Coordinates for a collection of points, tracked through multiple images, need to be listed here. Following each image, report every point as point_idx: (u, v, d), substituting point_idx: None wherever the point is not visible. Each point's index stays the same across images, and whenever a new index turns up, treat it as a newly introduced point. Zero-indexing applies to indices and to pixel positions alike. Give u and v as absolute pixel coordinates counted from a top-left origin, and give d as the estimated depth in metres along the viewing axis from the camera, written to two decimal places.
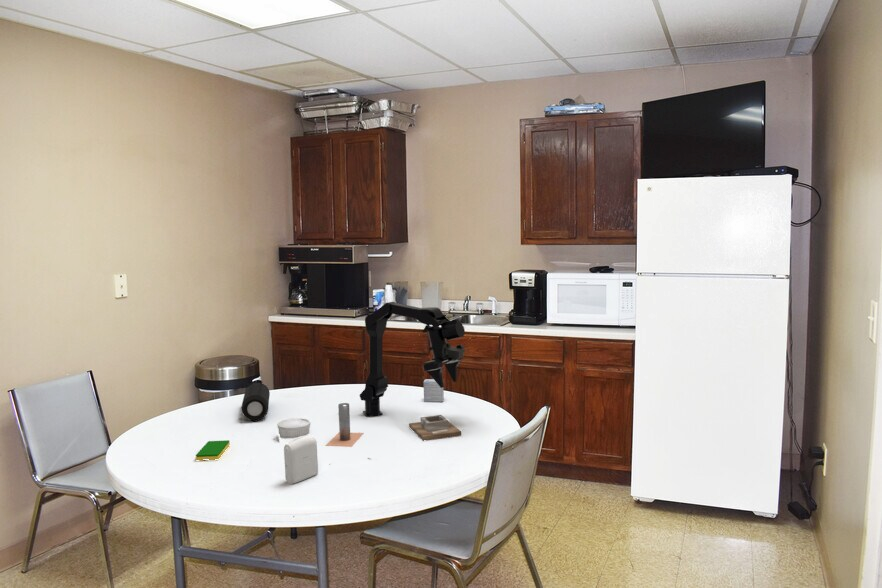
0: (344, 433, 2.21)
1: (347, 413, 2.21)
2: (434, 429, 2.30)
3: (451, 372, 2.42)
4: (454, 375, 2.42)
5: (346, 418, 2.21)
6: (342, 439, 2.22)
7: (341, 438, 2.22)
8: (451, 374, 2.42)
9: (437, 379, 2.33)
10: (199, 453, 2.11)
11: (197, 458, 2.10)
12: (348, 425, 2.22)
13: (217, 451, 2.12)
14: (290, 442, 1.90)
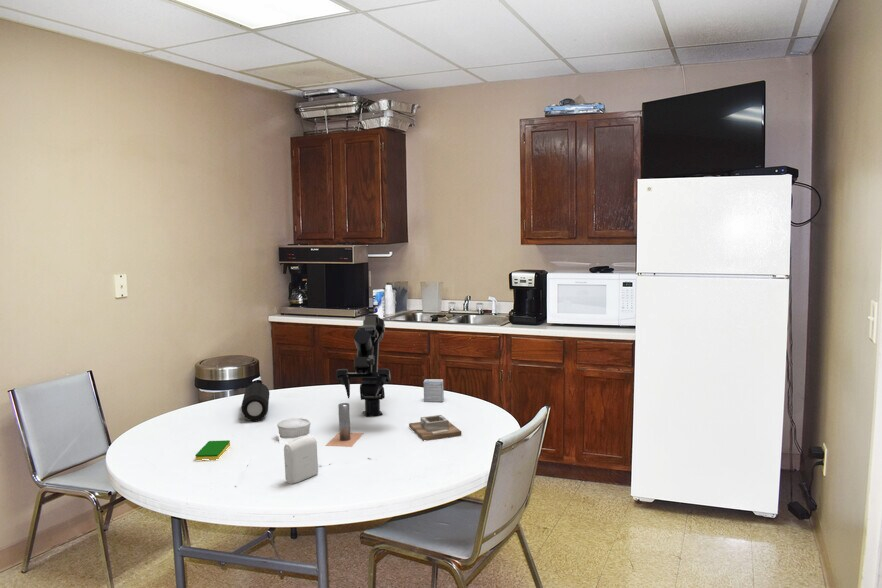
0: (344, 433, 2.21)
1: (347, 413, 2.21)
2: (434, 429, 2.30)
3: None
4: (375, 390, 2.30)
5: (347, 418, 2.21)
6: (342, 439, 2.22)
7: (341, 438, 2.22)
8: None
9: None
10: (199, 453, 2.11)
11: (197, 458, 2.10)
12: (348, 425, 2.22)
13: (217, 451, 2.12)
14: (290, 442, 1.90)
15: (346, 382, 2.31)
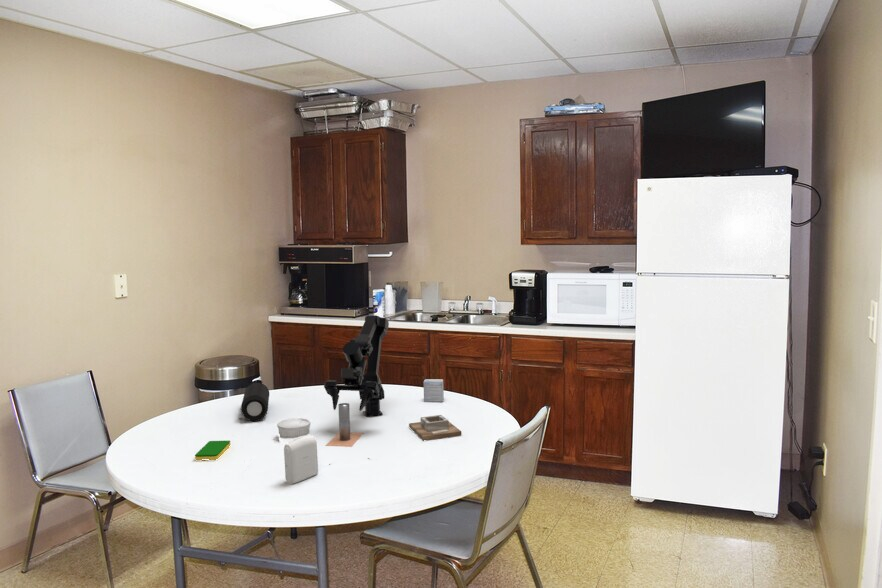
0: (344, 433, 2.21)
1: (347, 413, 2.21)
2: (434, 429, 2.30)
3: None
4: None
5: (347, 418, 2.21)
6: (342, 439, 2.22)
7: (341, 438, 2.22)
8: None
9: None
10: (198, 453, 2.11)
11: (196, 458, 2.10)
12: (348, 425, 2.22)
13: (216, 451, 2.12)
14: (290, 442, 1.90)
15: (333, 393, 2.29)
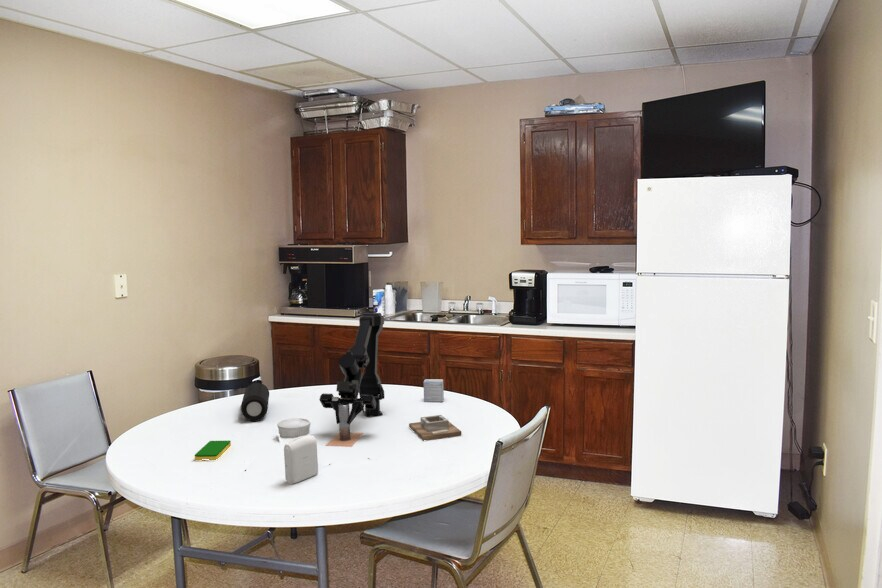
0: (344, 433, 2.21)
1: (347, 413, 2.21)
2: (434, 429, 2.30)
3: None
4: None
5: (346, 418, 2.21)
6: (342, 439, 2.22)
7: (341, 438, 2.22)
8: None
9: None
10: (198, 453, 2.11)
11: (196, 458, 2.10)
12: (348, 425, 2.22)
13: (216, 451, 2.12)
14: (290, 442, 1.90)
15: (336, 407, 2.24)
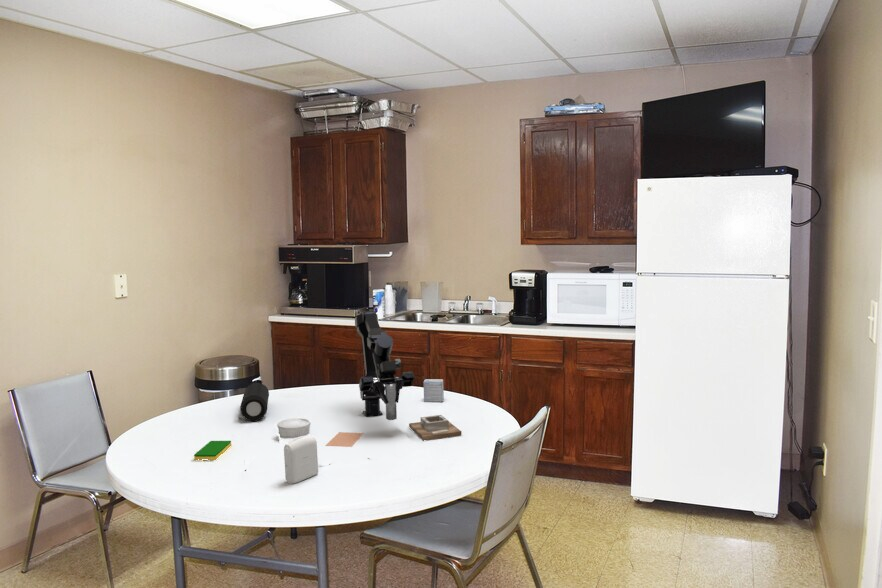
0: (394, 412, 2.23)
1: (395, 392, 2.24)
2: (434, 429, 2.30)
3: None
4: (396, 395, 2.25)
5: (395, 397, 2.23)
6: (391, 418, 2.23)
7: (390, 417, 2.23)
8: None
9: (380, 396, 2.24)
10: (198, 453, 2.11)
11: (195, 458, 2.10)
12: None
13: (215, 451, 2.12)
14: (290, 442, 1.90)
15: (381, 388, 2.24)
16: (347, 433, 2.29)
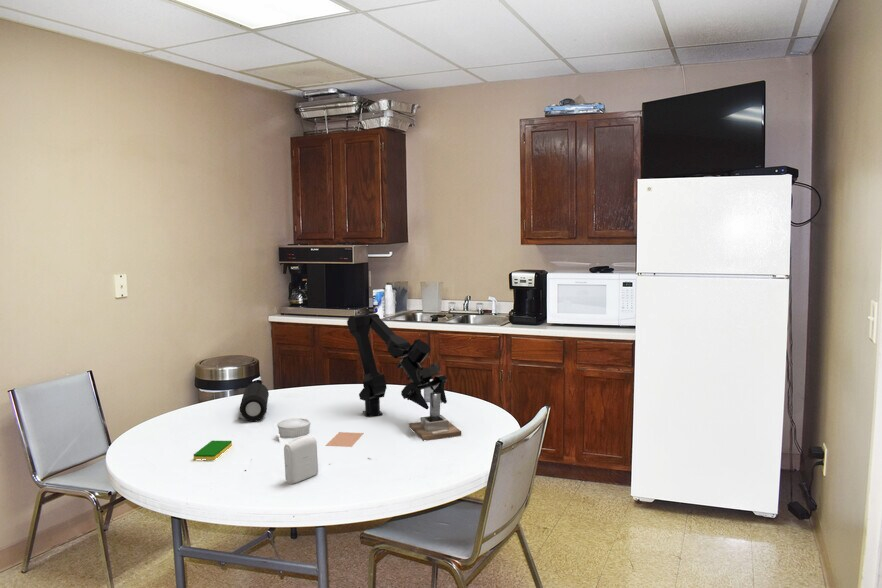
0: (439, 420, 2.33)
1: None
2: (434, 429, 2.30)
3: (440, 395, 2.37)
4: (442, 397, 2.36)
5: None
6: None
7: None
8: (440, 397, 2.37)
9: (420, 402, 2.30)
10: (197, 453, 2.11)
11: (194, 458, 2.10)
12: None
13: (215, 451, 2.12)
14: (290, 442, 1.90)
15: (420, 394, 2.29)
16: (347, 433, 2.29)
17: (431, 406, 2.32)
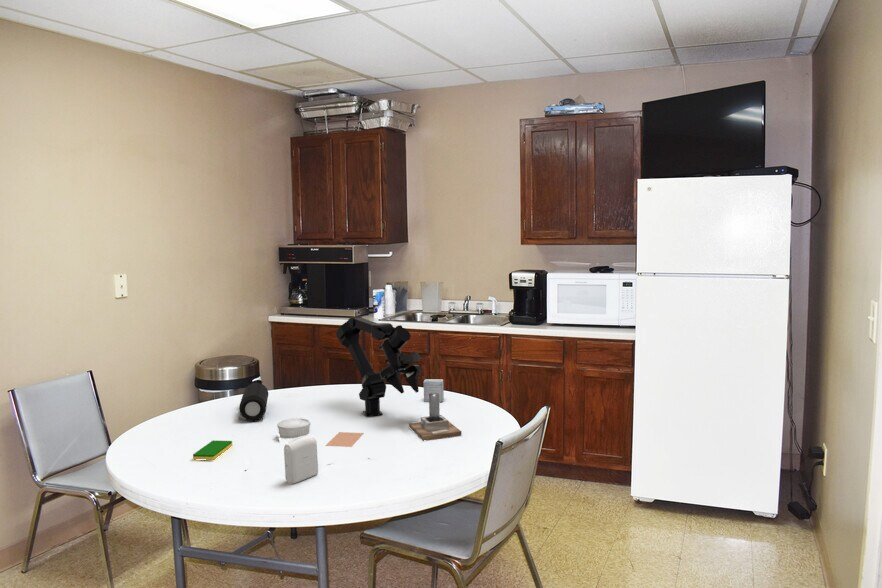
0: None
1: None
2: (434, 429, 2.30)
3: (412, 383, 2.43)
4: (415, 385, 2.42)
5: None
6: None
7: None
8: (412, 386, 2.43)
9: (396, 385, 2.34)
10: (197, 453, 2.12)
11: (194, 458, 2.10)
12: None
13: (214, 452, 2.12)
14: (290, 442, 1.90)
15: (398, 378, 2.34)
16: (347, 433, 2.29)
17: (430, 407, 2.32)
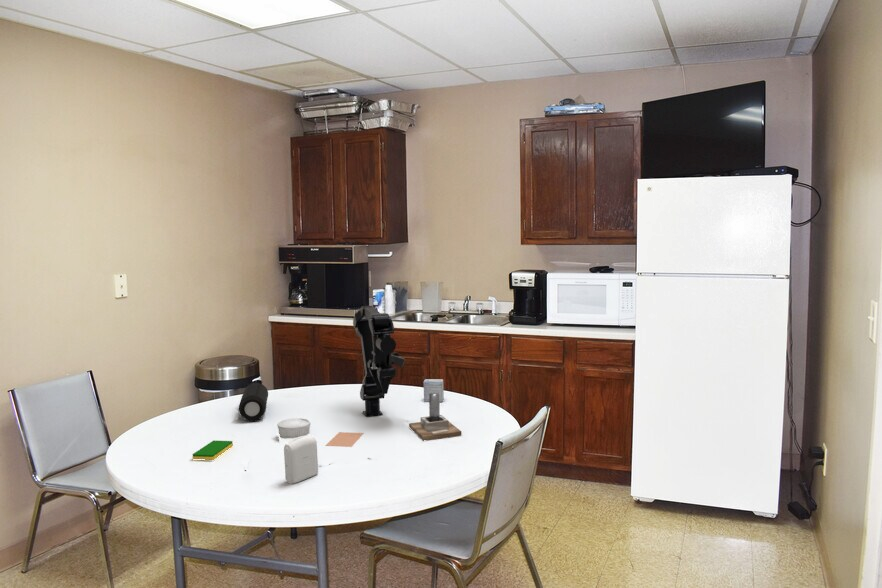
0: (439, 420, 2.33)
1: None
2: (434, 429, 2.30)
3: (377, 378, 2.45)
4: (380, 381, 2.45)
5: (439, 406, 2.34)
6: None
7: None
8: (376, 380, 2.45)
9: (385, 385, 2.35)
10: (196, 452, 2.12)
11: (193, 457, 2.10)
12: None
13: (214, 452, 2.12)
14: (290, 442, 1.90)
15: None
16: (347, 433, 2.29)
17: (430, 407, 2.32)
